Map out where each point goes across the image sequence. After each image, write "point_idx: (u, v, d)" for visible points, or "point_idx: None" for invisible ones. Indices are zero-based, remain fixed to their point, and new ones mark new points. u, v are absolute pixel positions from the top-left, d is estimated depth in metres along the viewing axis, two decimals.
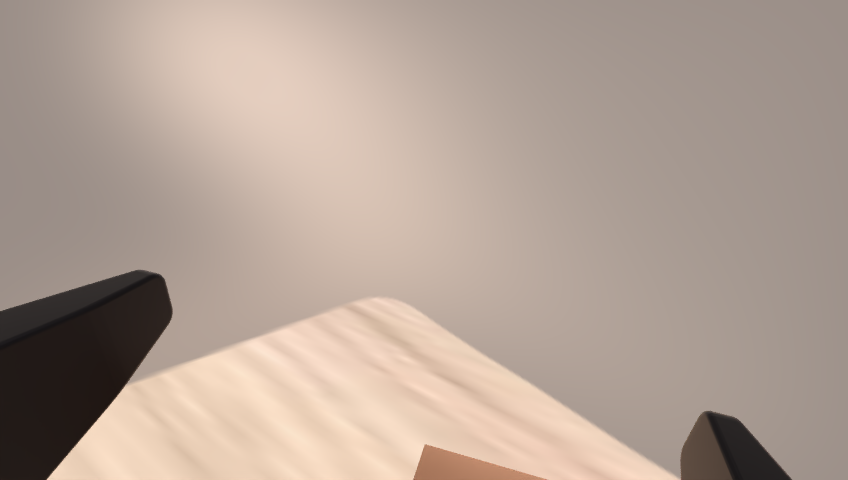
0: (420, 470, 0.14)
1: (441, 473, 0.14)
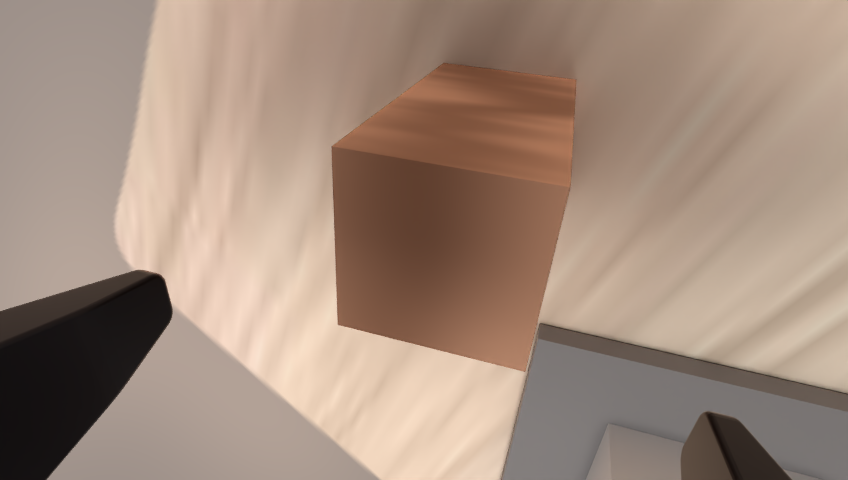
0: (372, 329, 0.11)
1: (368, 307, 0.11)
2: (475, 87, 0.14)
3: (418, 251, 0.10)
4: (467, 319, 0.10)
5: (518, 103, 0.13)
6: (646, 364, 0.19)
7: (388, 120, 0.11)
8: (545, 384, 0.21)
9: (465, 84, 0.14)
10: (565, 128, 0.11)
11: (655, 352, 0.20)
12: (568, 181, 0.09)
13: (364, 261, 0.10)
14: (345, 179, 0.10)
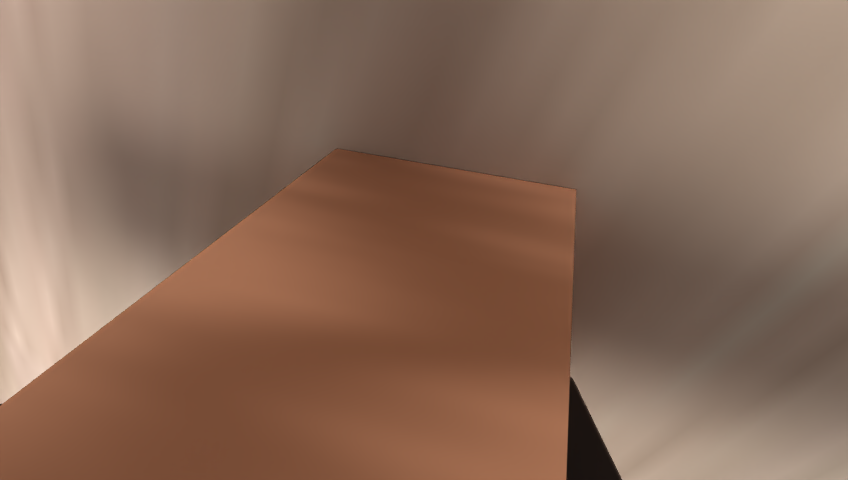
0: None
1: None
2: (359, 235, 0.07)
3: None
4: None
5: (436, 307, 0.05)
6: None
7: None
8: None
9: (342, 224, 0.07)
10: (541, 472, 0.04)
11: None
12: None
13: None
14: None
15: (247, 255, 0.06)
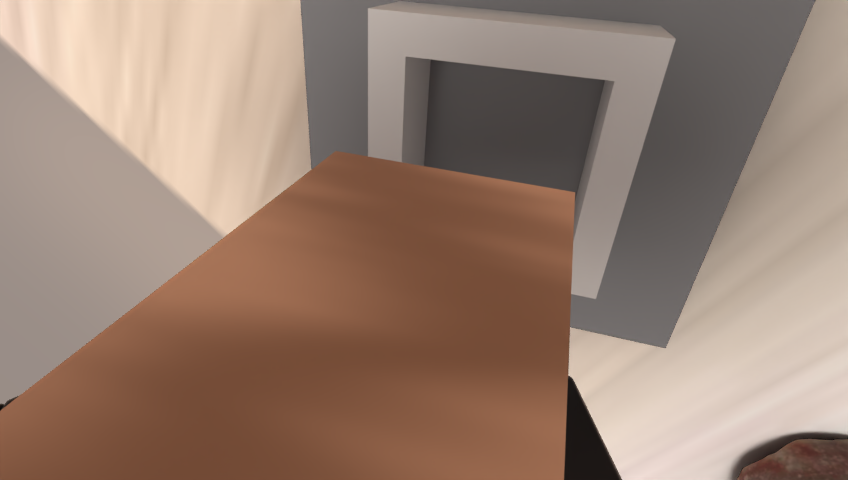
0: None
1: None
2: (359, 238, 0.07)
3: None
4: None
5: (435, 311, 0.05)
6: None
7: None
8: None
9: (341, 228, 0.07)
10: (539, 475, 0.04)
11: None
12: None
13: None
14: None
15: (247, 258, 0.06)
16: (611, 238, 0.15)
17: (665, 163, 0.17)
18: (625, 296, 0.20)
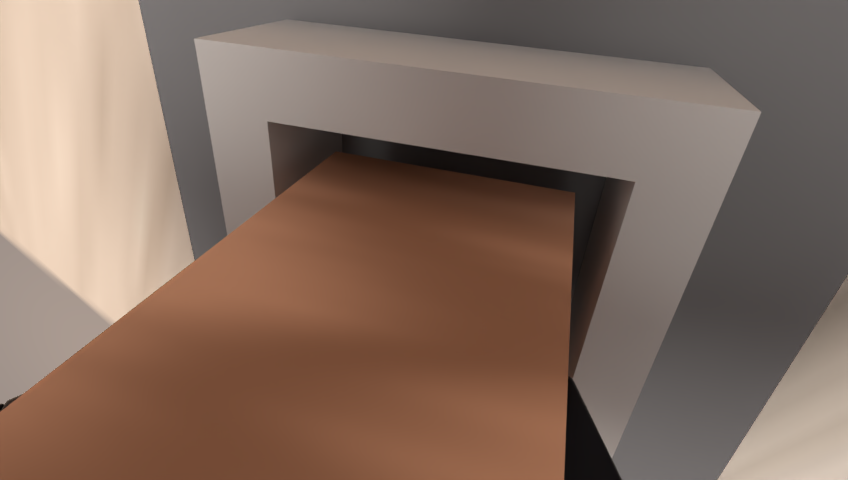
0: None
1: None
2: (359, 239, 0.07)
3: None
4: None
5: (435, 312, 0.05)
6: None
7: None
8: None
9: (341, 228, 0.07)
10: (539, 477, 0.04)
11: None
12: None
13: None
14: None
15: (247, 259, 0.06)
16: (623, 419, 0.09)
17: (707, 278, 0.11)
18: (639, 446, 0.14)
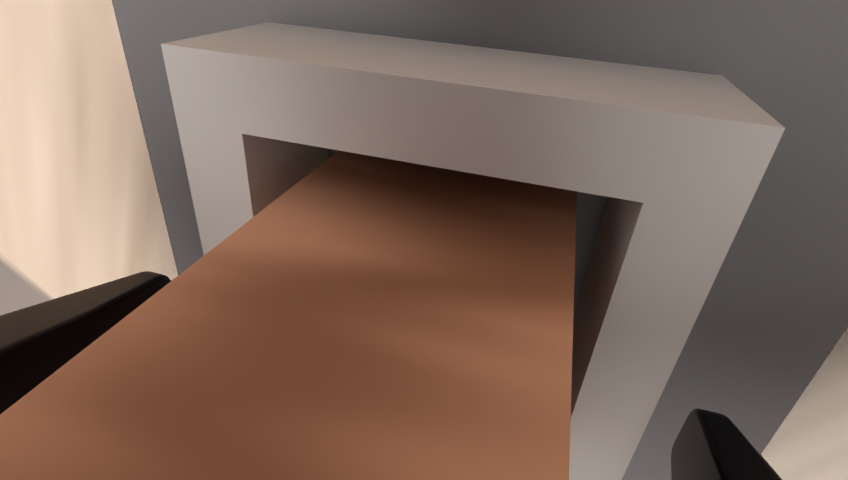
0: None
1: None
2: (391, 201, 0.08)
3: None
4: None
5: (462, 255, 0.06)
6: None
7: (117, 364, 0.04)
8: None
9: (375, 193, 0.08)
10: (552, 366, 0.05)
11: None
12: None
13: None
14: None
15: (299, 215, 0.07)
16: (628, 453, 0.09)
17: (717, 298, 0.10)
18: (643, 470, 0.13)
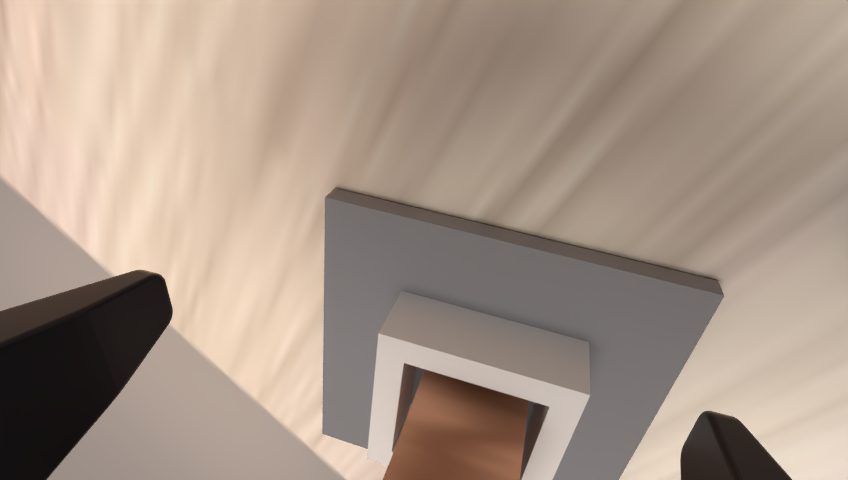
0: None
1: None
2: (459, 390, 0.20)
3: None
4: None
5: (487, 422, 0.19)
6: (421, 221, 0.20)
7: (400, 468, 0.17)
8: (340, 249, 0.22)
9: (452, 384, 0.20)
10: (515, 469, 0.17)
11: (437, 214, 0.20)
12: None
13: None
14: None
15: (428, 400, 0.19)
16: None
17: (592, 417, 0.23)
18: None
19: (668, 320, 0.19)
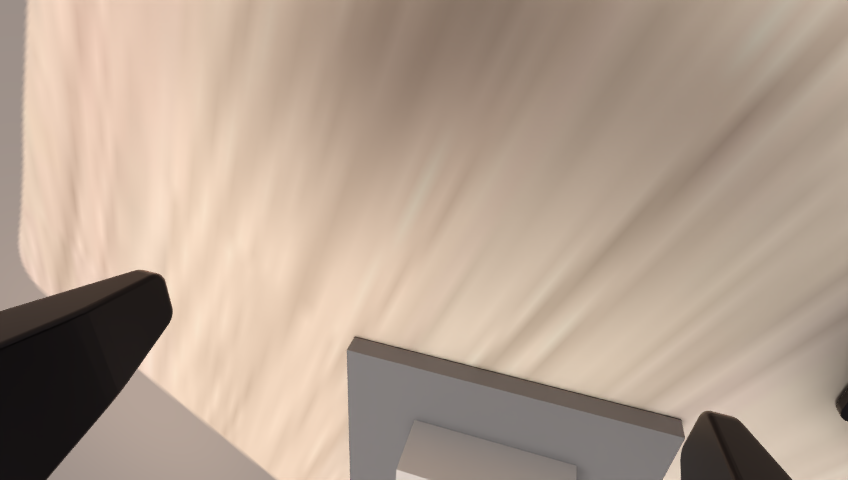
0: None
1: None
2: None
3: None
4: None
5: None
6: (428, 371, 0.24)
7: None
8: (361, 387, 0.26)
9: None
10: None
11: (441, 360, 0.24)
12: None
13: None
14: None
15: None
16: None
17: None
18: None
19: (641, 453, 0.22)
